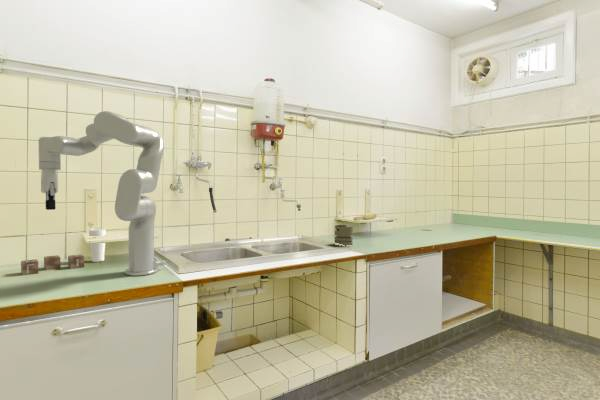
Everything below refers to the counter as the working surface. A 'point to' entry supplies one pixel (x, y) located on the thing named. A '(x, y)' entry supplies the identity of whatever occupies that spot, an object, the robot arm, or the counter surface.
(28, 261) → the block seven
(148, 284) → the counter surface
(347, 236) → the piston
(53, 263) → the plain block
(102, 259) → the white cup
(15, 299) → the counter surface
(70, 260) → the block one
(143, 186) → the robot arm
